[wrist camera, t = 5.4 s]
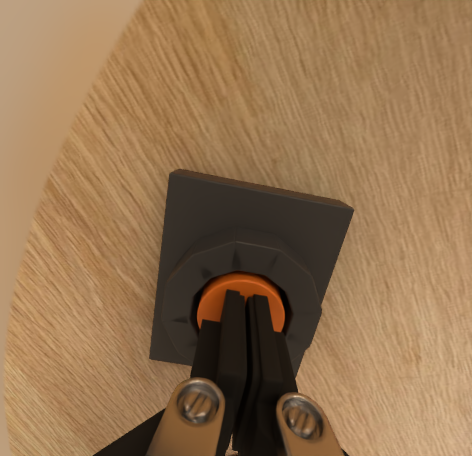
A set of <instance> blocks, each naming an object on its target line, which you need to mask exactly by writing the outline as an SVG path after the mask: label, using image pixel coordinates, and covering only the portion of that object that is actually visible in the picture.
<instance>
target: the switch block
mask: <svg viewBox="0 0 472 456" xmlns="http://www.w3.org/2000/svg"><path fill="white" fill-rule="evenodd" d="M353 212H354V209H353V208H352V207H350V206H348V205H347V204H345V203H343V202H341V201H340V200H335V199H330V198H325V197H320V196H314V195H309V194H304V193H299V192H294V191H289V190H284V189H279V188H274V187H269V186H264V185H259V184H254V183H248V182H243V181H238V180H233V179H228V178H223V177H218V176H213V175H208V174H203V173H198V172H193V171H188V170H182V169H178V170H176V171H173V172H171V173H170V174H169V182H168V191H167V200H166V209H165V218H164V227H163V236H162V246H161V255H160V264H159V273H158V282H157V291H156V300H155V309H154V319H153V328H152V337H151V346H150V355H149V359H151V360H158V361H164V362H170V363H176V364H183V365H189V366H193V361H194V356H195V351H196V346H197V342H198V337H199V332H200V328H199V325H198V321H197V310H198V306H199V302H200V298H201V294H202V290H203V286H204V285H205V284H206V283H207V282H208V281H209V280H210V279H211V278H214V277H217V276H220V275H223V274H227V273H230V272H233V271H237V270H238V271H244V272H250V273H255V274H261V275H265V276H267V277H268V278H269V279H270V280H271V281H273V282H274V283H275V284H276V285H278V289H279V292H280V296H281V300H282V303H283V307H284V312H285V321H284V325H283V328H282V330H281V332H282V333H284V335H285V339H286V343H287V347H288V351H289V355H290V360H291V364H292V368H293V372H294V376H295V378H296V375H297V372H298V369H299V366H300V364H301V361H302V358H303V355H304V352H305V350H306V349H307V348H309V347H310V344H311V342H312V339H313V337H314V334H315V331H316V328H317V325H318V323H319V320H320V317H321V314H322V308H321V304H322V301H323V298H324V295H325V292H326V289H327V287H328V284H329V281H330V278H331V275H332V272H333V269H334V267H335V264H336V261H337V258H338V255H339V252H340V249H341V247H342V244H343V241H344V238H345V235H346V232H347V229H348V227H349V224H350V221H351V218H352V215H353Z"/></svg>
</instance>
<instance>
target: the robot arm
mask: <svg viewBox="0 0 472 456" xmlns="http://www.w3.org/2000/svg"><path fill="white" fill-rule="evenodd" d="M231 436H232V450H233V451H238V456H349V455H348V454H347V453H346V452H345V451H344V450H343V449H342V448H341V447H340V445H339V443H338V440H337V438H336V436H335V434H334V432H333V429H332V427H331V425H330V423H329V421H328V418H327V416H326V415H325V413H324V411H323V410H322V408H321V407H320V406H319V405H318V404H317V403H316V402H315V401H314V400H312V399H311V398H310V397H308V396H306V395H304V394H301V393H298V389H297V385H296V380H295V376H294V372H293V368H292V364H291V360H290V355H289V351H288V347H287V343H286V339H285V335H284V333H282V332H277V331H274V329H273V323H272V318H271V313H270V307H269V302H268V297H267V296H263V295H258V294H253V297H248V298H247V302H246V306H245V296H243V295H240V291H235V290H229V289H227V290H226V294H225V299H224V304H223V308H222V313H221V318H220V322H217V321H211V320H205V319H202V323H201V327H200V332H199V337H198V342H197V346H196V351H195V356H194V361H193V366H192V370H191V375H190V378H189V379H187V380H185V381H183V382H182V383H180V384H179V385H178V386H177V387H176V389H175V390H174V392H173V393H172V396H171V398H170V400H169V403H168V405H167V407H166V408H165V409H163V410H162V411H160V412H159V413H157V414H155V415H154V416H152V417H151V418H149V419H148V420H146V421H145V422H143V423H142V424H140V425H139V426H137V427H136V428H134V429H133V430H131V431H129V432H128V433H126V434H125V435H123V436H122V437H120V438H119V439H117V440H116V441H114V442H113V443H111V444H110V445H108V446H107V447H105V448H103V449H102V450H100V451H99V452H97V453H96V454H94V455H93V456H225V454H226V450H228V447H229V443H230V439H231Z"/></svg>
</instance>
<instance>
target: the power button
mask: <svg viewBox="0 0 472 456" xmlns="http://www.w3.org/2000/svg"><path fill="white" fill-rule="evenodd" d="M227 289H229V290H235V291H240V295H243V296H245V306H246V302H247V298H248V297H253V294H258V295H263V296H267V297H268V302H269V307H270V313H271V318H272V323H273V329H274V331H277V332H281V330H282V328H283V325H284V321H285V312H284V307H283V303H282V300H281V296H280V292H279V289H278V285H276V284H275V283H274V282H273V281H271V280H270V279H269V278H268V277H267V276H265V275H261V274H255V273H250V272H244V271H238V270H237V271H233V272H230V273H227V274H223V275H220V276H217V277H214V278H211V279H210V280H209V281H208V282H207V283H206V284H205V285H204V286H203V290H202V294H201V298H200V302H199V306H198V310H197V321H198V325H199V328H200V327H201V323H202V319H205V320H211V321H217V322H220V318H221V313H222V308H223V304H224V299H225V294H226V290H227Z"/></svg>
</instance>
